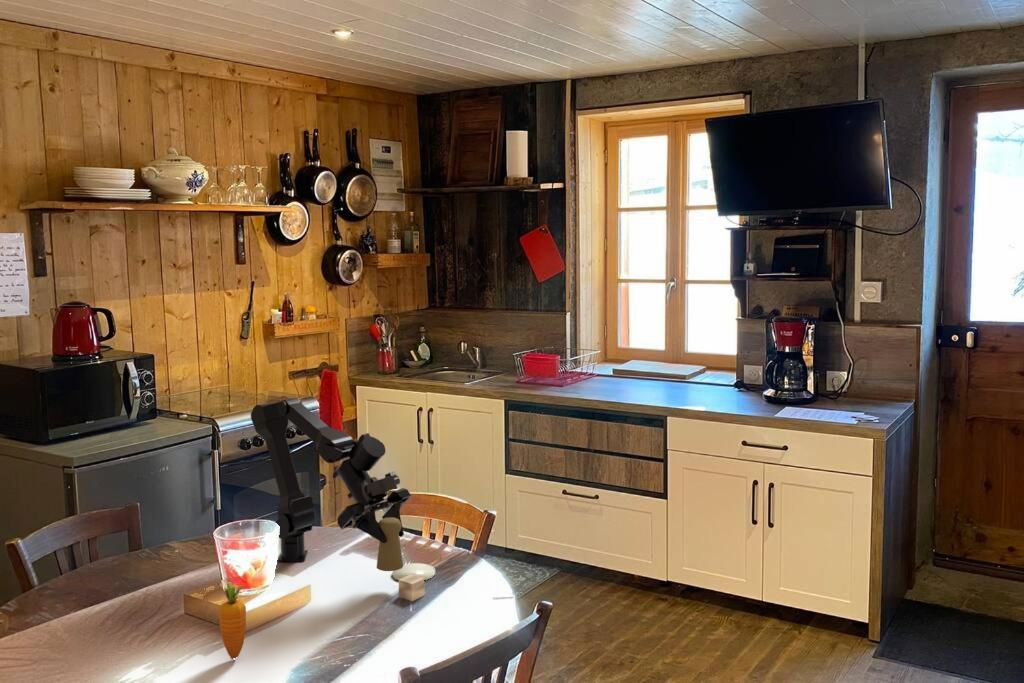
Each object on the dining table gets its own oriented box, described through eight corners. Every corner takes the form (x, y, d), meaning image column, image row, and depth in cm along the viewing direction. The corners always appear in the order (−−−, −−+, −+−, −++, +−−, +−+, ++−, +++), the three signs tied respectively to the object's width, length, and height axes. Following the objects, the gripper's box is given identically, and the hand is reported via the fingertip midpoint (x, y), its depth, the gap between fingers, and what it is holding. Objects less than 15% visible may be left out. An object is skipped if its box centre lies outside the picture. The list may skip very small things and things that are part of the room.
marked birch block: (398, 597, 198) (398, 579, 198) (410, 591, 201) (410, 574, 201) (412, 601, 196) (412, 584, 195) (424, 595, 199) (424, 578, 198)
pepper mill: (406, 561, 205) (405, 515, 203) (400, 571, 199) (399, 523, 197) (380, 560, 205) (379, 514, 204) (373, 570, 199) (372, 522, 198)
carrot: (223, 654, 171) (220, 578, 169) (250, 653, 171) (247, 577, 169) (217, 666, 166) (214, 589, 164) (245, 665, 166) (242, 588, 165)
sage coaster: (393, 567, 216) (393, 564, 216) (435, 565, 217) (435, 562, 217) (391, 583, 206) (391, 579, 206) (435, 581, 207) (435, 578, 207)
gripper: (345, 470, 194) (382, 530, 189) (405, 454, 209) (441, 509, 204) (321, 499, 199) (356, 558, 194) (381, 481, 214) (415, 535, 209)
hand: (394, 539), depth 200 cm, fingers closed on pepper mill, 5 cm apart
